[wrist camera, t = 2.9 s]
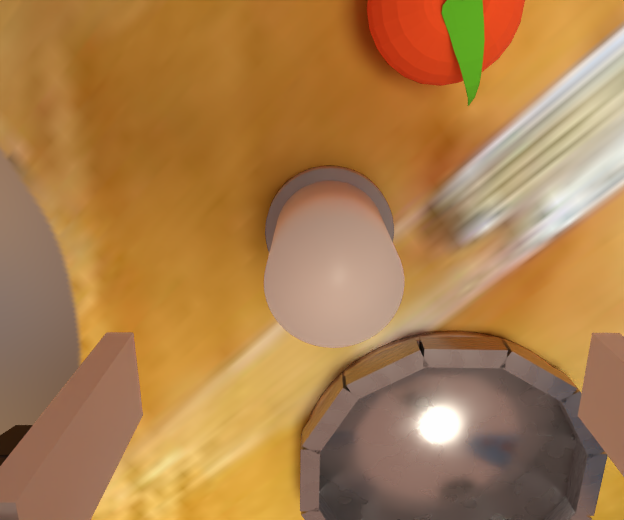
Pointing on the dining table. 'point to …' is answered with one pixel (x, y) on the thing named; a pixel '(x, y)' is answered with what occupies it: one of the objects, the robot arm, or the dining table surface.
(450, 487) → the round tray
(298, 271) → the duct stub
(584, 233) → the dining table surface
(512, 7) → the clementine
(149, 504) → the dining table surface
